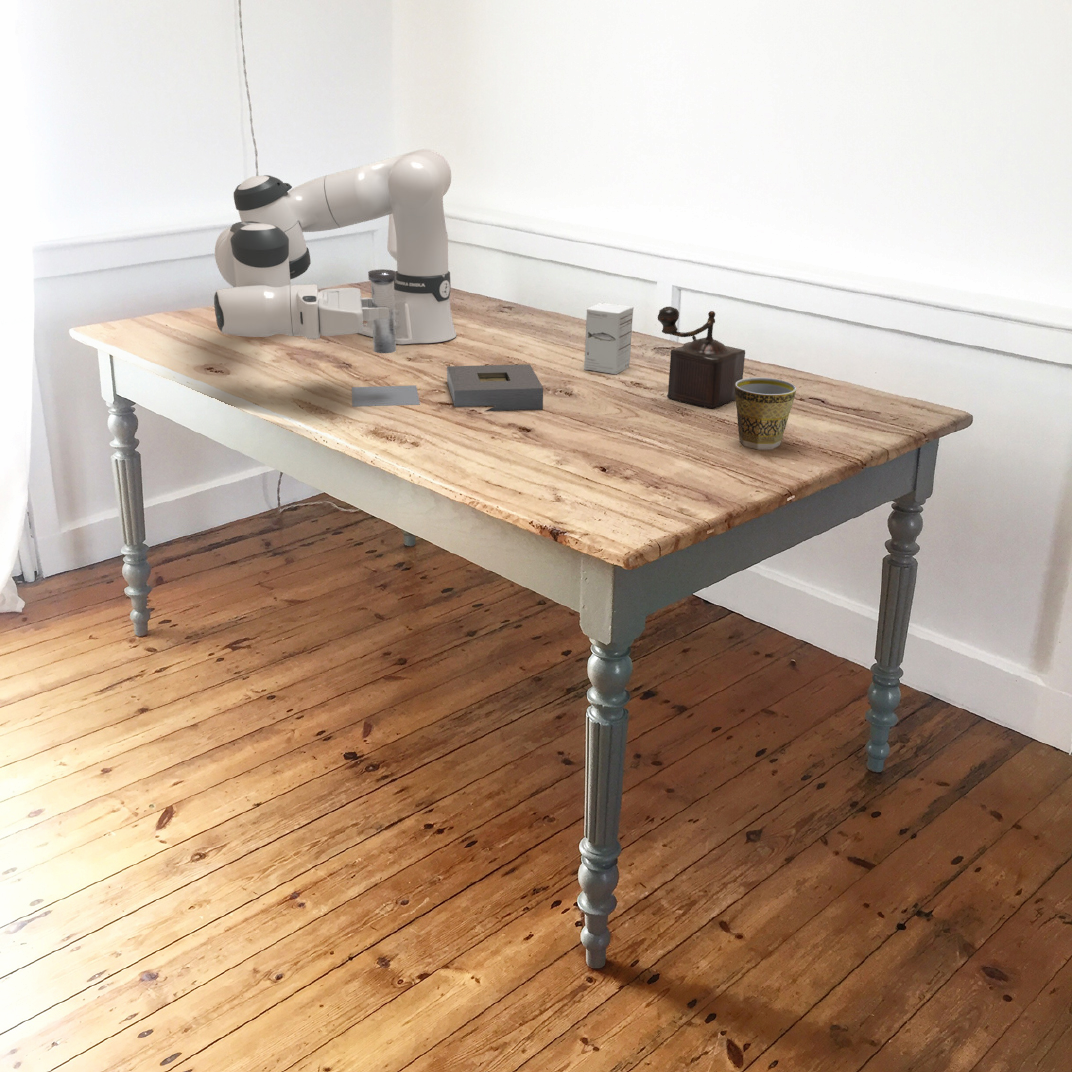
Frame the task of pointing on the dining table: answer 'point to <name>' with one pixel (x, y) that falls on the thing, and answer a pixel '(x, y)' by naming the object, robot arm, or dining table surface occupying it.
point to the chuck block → (495, 387)
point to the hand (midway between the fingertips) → (388, 308)
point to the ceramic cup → (763, 411)
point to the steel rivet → (383, 297)
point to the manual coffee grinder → (701, 365)
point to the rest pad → (384, 396)
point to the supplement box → (608, 338)
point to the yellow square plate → (493, 379)
